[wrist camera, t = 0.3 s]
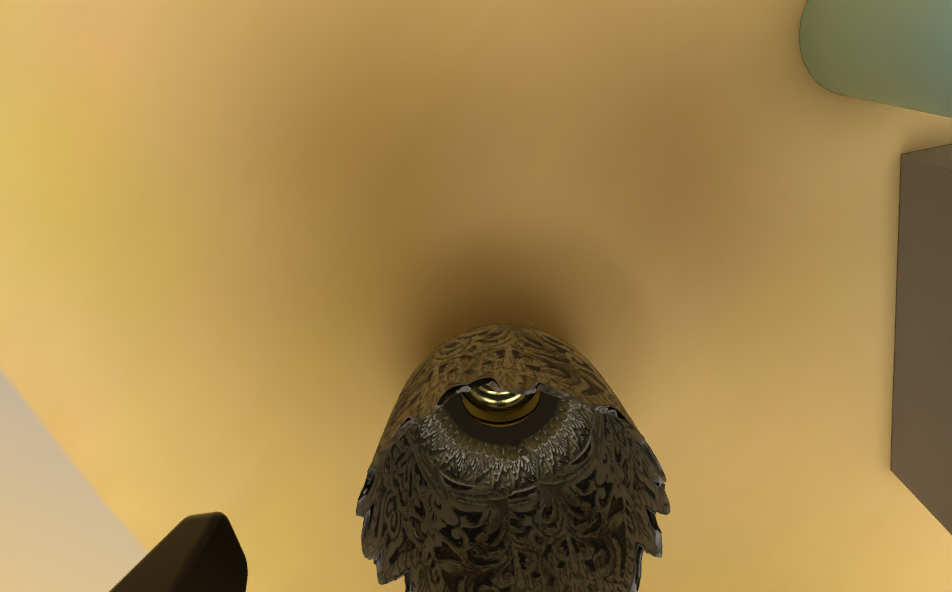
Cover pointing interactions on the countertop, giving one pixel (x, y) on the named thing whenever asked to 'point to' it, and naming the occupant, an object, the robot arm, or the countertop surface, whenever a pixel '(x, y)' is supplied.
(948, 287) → the socket
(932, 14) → the peg
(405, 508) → the cup
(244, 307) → the countertop surface
